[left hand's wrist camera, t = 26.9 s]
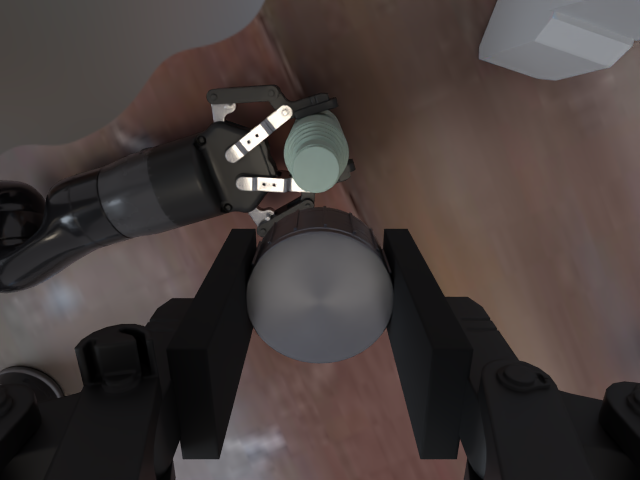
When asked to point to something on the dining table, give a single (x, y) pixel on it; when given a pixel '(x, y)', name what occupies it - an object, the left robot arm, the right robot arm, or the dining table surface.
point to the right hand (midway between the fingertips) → (344, 133)
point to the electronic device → (559, 35)
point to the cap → (319, 286)
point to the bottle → (316, 152)
